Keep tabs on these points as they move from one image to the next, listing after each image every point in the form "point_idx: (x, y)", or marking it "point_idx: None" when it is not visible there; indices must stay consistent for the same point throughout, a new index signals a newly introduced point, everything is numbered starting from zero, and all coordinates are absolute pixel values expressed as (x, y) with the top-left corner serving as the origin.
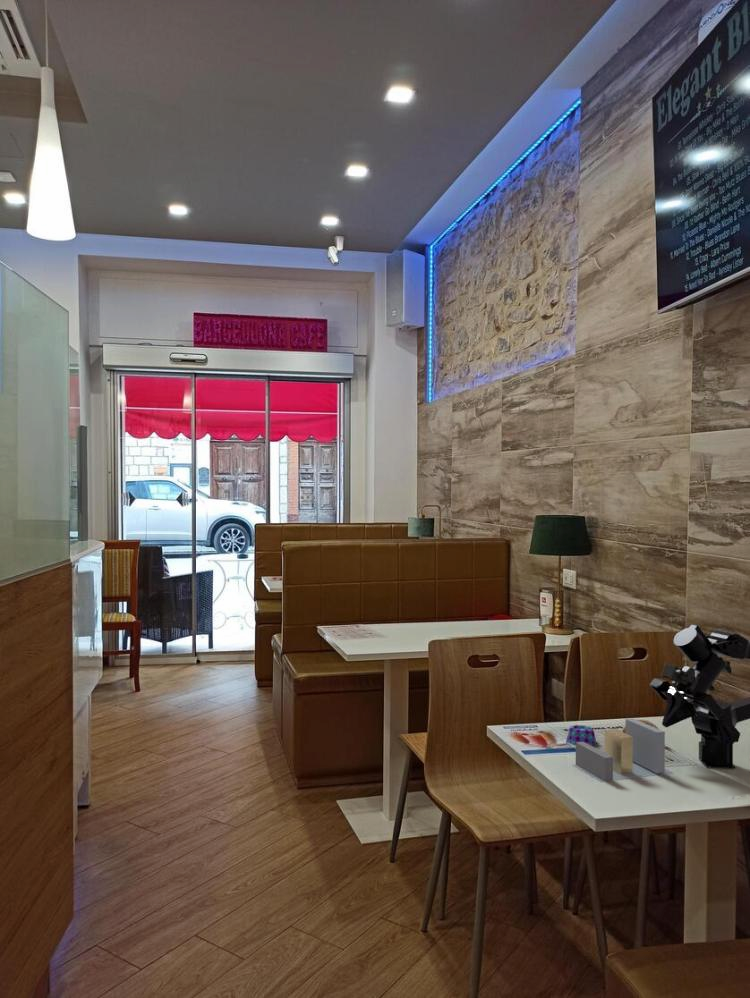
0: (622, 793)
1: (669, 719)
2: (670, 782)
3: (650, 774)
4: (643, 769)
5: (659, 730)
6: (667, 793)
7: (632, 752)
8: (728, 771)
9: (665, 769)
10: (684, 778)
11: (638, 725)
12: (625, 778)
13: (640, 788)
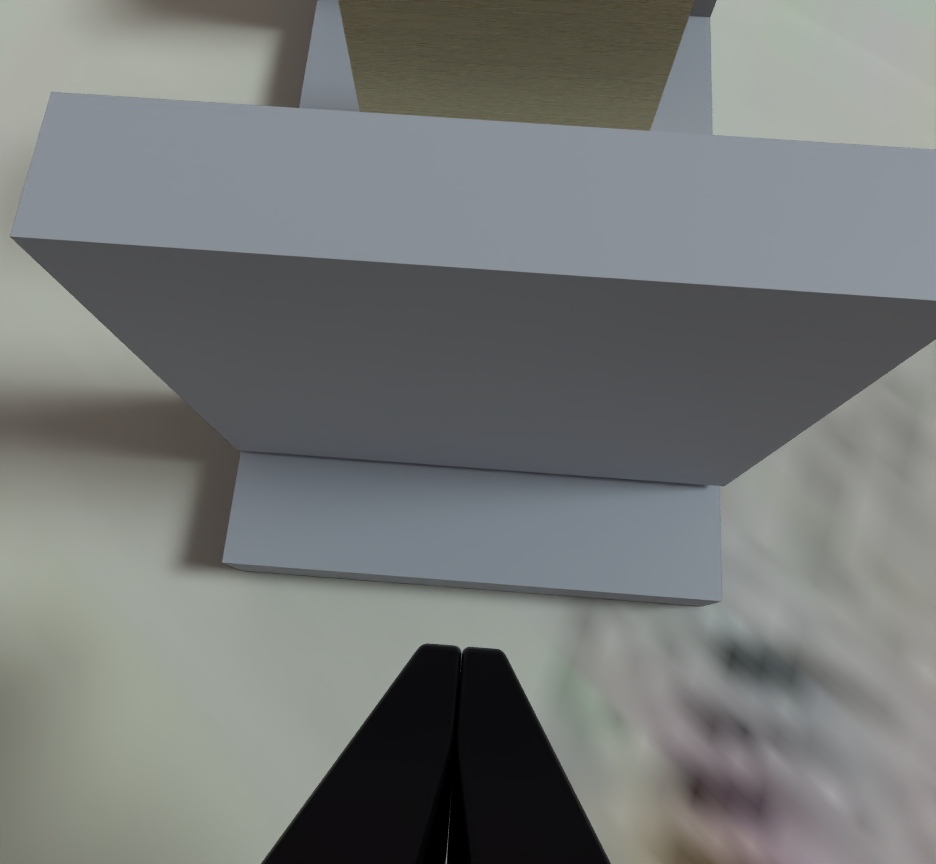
0: (215, 26)
1: (344, 771)
2: (209, 492)
3: None
4: None
5: (117, 206)
6: (54, 294)
7: (354, 81)
8: None
9: (327, 555)
10: (221, 698)
11: (573, 140)
12: (307, 91)
13: None
